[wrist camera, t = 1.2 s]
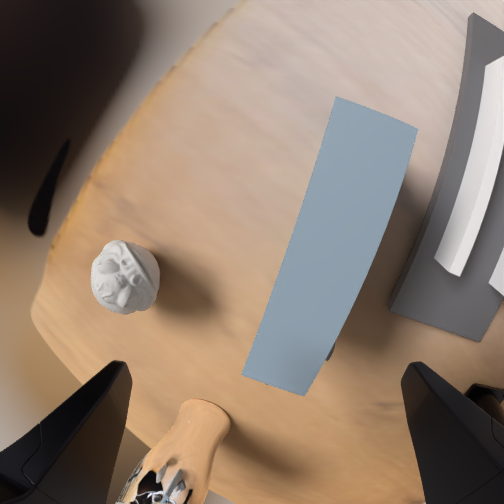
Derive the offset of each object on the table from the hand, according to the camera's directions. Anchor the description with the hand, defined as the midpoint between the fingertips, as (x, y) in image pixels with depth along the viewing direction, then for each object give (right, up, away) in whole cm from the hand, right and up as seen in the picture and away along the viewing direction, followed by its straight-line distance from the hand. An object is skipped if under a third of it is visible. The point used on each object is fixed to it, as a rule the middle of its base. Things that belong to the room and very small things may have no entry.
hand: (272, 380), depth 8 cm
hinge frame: (+18, +10, +9) cm, 22 cm away
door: (+5, +6, +13) cm, 15 cm away
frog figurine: (-10, +3, +18) cm, 20 cm away
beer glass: (-6, -15, +22) cm, 27 cm away
